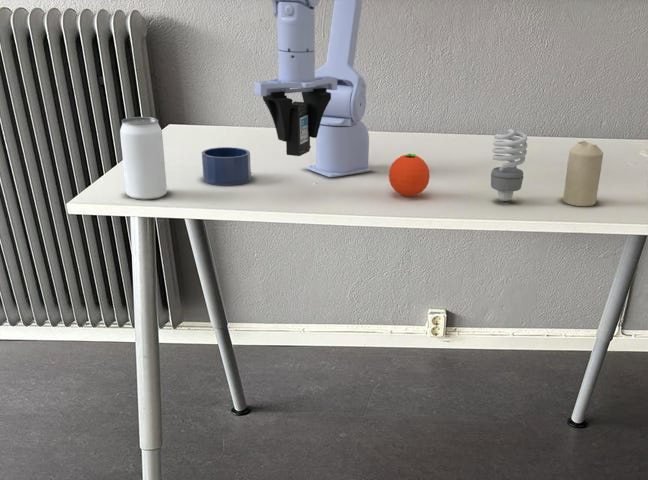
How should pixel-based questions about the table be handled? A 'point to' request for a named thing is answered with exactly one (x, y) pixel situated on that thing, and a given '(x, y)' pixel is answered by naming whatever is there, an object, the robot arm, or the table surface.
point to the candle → (583, 174)
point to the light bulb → (508, 164)
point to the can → (143, 158)
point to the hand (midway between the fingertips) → (297, 138)
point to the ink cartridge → (298, 129)
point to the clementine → (409, 175)
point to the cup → (226, 166)
